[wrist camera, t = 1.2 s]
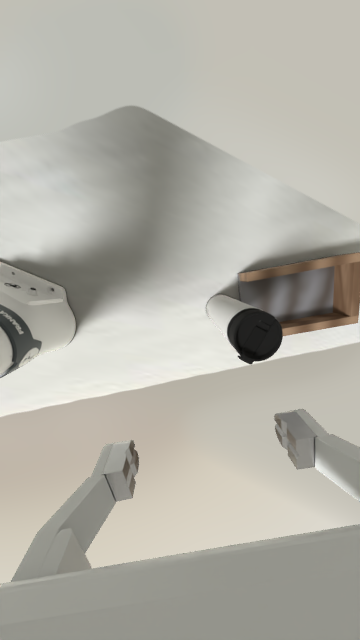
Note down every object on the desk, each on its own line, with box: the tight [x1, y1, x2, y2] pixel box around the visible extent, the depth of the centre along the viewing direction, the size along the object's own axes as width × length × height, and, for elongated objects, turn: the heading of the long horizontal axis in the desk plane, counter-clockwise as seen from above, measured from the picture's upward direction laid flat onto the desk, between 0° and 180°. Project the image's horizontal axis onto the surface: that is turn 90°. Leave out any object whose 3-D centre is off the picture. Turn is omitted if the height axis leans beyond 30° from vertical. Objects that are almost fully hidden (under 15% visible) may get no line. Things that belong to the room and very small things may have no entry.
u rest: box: [238, 252, 360, 336], centre depth 37 cm, size 22×14×5 cm, turn 100°
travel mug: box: [206, 294, 283, 364], centre depth 30 cm, size 6×7×20 cm
